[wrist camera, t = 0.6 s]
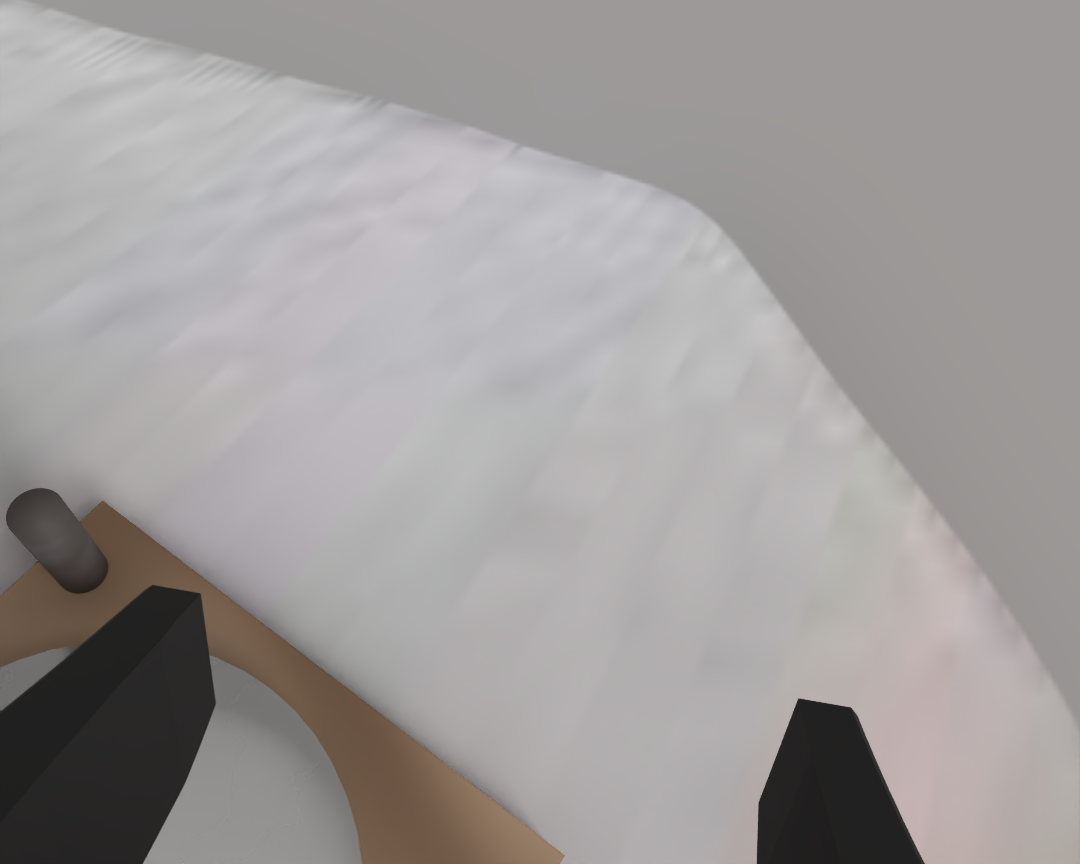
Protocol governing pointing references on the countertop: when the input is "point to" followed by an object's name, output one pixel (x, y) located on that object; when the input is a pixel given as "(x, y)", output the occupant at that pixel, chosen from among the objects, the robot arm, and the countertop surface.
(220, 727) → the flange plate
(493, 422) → the countertop surface
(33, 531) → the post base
